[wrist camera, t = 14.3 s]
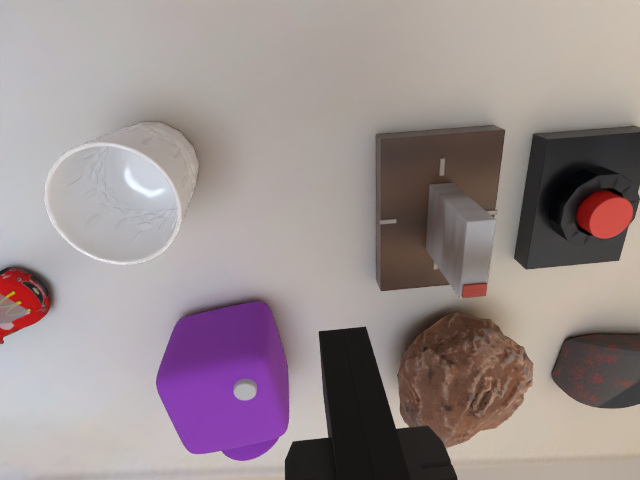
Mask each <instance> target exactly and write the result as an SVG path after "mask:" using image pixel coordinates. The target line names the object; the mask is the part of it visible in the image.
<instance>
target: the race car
mask: <svg viewBox="0 0 640 480" xmlns="http://www.w3.org/2000/svg"><path fill="white" fill-rule="evenodd" d="M49 309H50V296H49V293H48V291H47V289H46V288H45V286H44V285H43V284H42V283H41V282H40V281H39V280H38V279H37V278H36V277H34V276H33V275H31V274H29V273H27V272H25V271H22V270H20V269H16V268H12V269H11V268H6V269H4V270H2V271H0V344H3V343H4V341H3V337H5V336H7V335H10V334H12V333H14V332H16V331H18V330H20V329H22V328H24V327H27V326H30V325H32V324H34V323H36V322H38V321H39V320H41V319H42V318H43V317H44V316H45V315H46V314H47V313H48V311H49Z"/></svg>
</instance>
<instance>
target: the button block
mask: <svg viewBox="0 0 640 480" xmlns="http://www.w3.org/2000/svg"><path fill="white" fill-rule="evenodd" d="M639 186H640V127H636V126H630V127H617V128H604V129H591V130H579V131H566V132H553V133H540V134H534V135H533V141H532V147H531V154H530V160H529V167H528V173H527V180H526V186H525V193H524V199H523V206H522V212H521V218H520V225H519V231H518V238H517V244H516V251H515V257H514V259H515V260H516V261H517V262H519V263H520V264H521V265H522V266H523V267H524V268H525V269H535V268H546V267H556V266H567V265H578V264H588V263H599V262H609V261H619V259H620V255H621V252H622V248H623V244H624V241H625V237H626V233H627V230H628V226H629V225H630V223H631V222H632V221H633V220H634V218H635V215H636V211H637V208H638V204H639V201H640V198H639V195H638V190H639ZM597 191H610V192H612V193H615V194H617V195H619V196H621V197H623V198H625V199H627V200H628V201H629V202H630V203H631V205H632V207H633V216H632V219H631V221H630V223H629V225H628V226H627V227H626V228H625V229H624V230H623V231H622V232H621V233H619V234H618V235H616V236H614V237H611V238H598V237H595V236H594V235H592V234H591V233H589V232H587V231H586V230H584V229H583V228H581V227H580V226H579V224H578V222H577V218H576V214H577V210H578V207H579V206H580V204H581V203H582V201H583V200H584V199H585V198H586V197H588V196H589V195H591V194H592V193H595V192H597Z"/></svg>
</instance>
